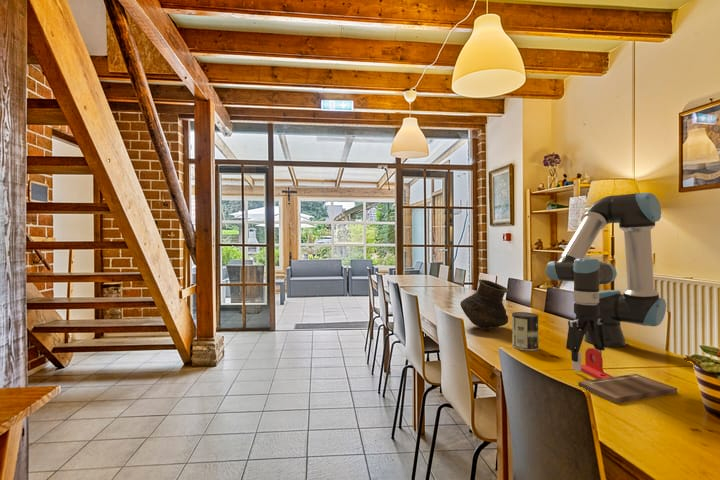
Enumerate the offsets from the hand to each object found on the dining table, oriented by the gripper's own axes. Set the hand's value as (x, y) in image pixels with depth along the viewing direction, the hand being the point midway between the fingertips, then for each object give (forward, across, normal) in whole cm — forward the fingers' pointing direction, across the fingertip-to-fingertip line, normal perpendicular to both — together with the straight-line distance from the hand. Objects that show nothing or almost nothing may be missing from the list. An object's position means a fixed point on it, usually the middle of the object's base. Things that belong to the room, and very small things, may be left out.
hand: (586, 369), depth 124 cm
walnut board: (+1, -1, -15) cm, 15 cm away
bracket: (+1, +1, -2) cm, 3 cm away
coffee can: (+1, +1, +30) cm, 30 cm away
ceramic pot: (+1, +5, +64) cm, 64 cm away
